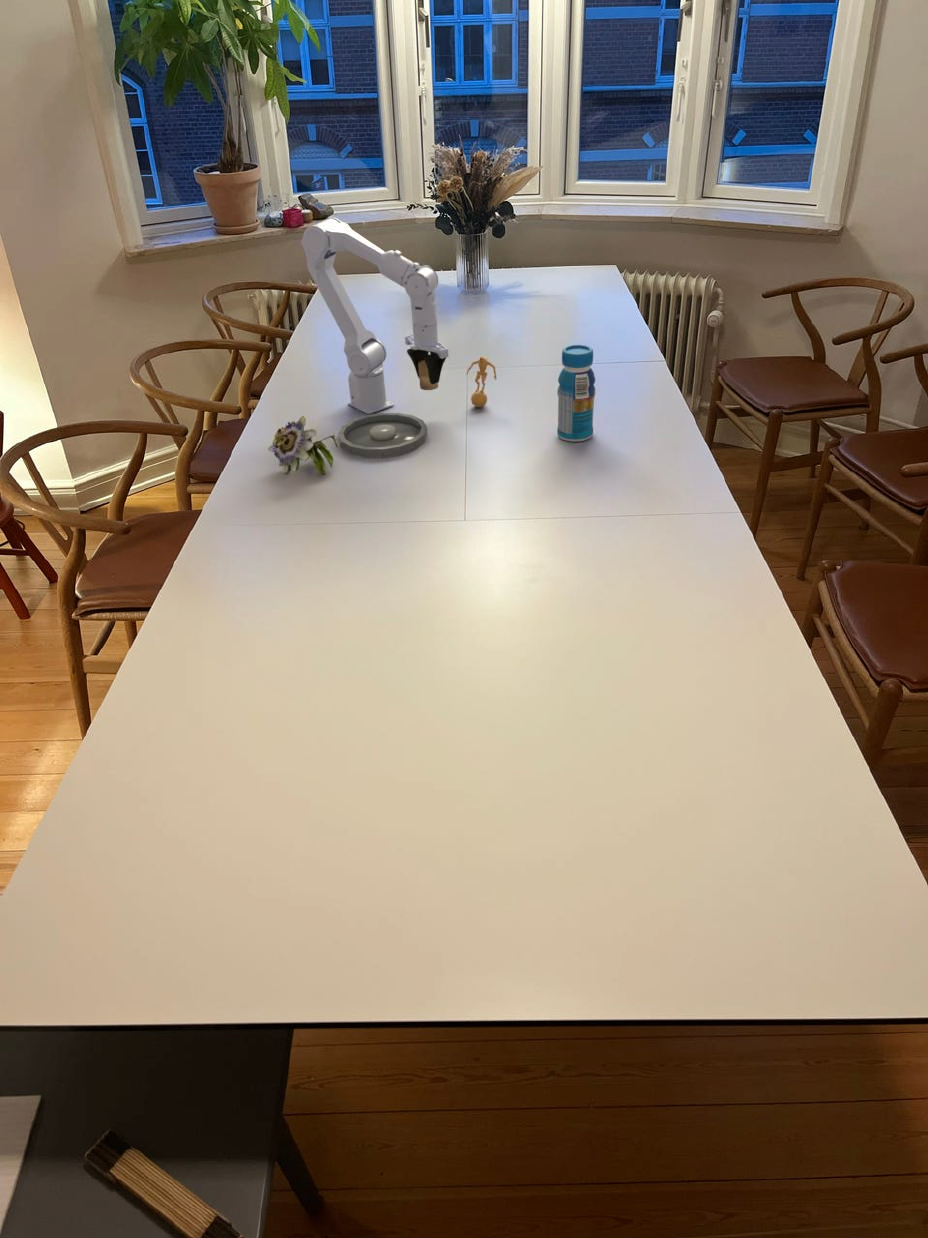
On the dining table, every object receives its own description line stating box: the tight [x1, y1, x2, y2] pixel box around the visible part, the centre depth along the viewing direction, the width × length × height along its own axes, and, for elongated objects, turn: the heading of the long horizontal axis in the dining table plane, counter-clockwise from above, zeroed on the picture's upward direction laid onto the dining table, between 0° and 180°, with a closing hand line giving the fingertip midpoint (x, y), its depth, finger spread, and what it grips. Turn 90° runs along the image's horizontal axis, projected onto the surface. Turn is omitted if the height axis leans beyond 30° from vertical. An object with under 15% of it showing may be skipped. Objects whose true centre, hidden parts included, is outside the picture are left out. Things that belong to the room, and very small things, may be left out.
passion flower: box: [268, 415, 340, 475], centre depth 192 cm, size 13×12×14 cm
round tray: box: [337, 412, 429, 459], centre depth 204 cm, size 20×20×2 cm
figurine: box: [466, 356, 497, 408], centre depth 215 cm, size 8×6×12 cm
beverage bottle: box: [556, 344, 596, 443], centre depth 195 cm, size 8×8×20 cm
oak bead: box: [418, 360, 439, 391], centre depth 210 cm, size 4×4×6 cm
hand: (428, 380), depth 211 cm, fingers closed on oak bead, 4 cm apart
